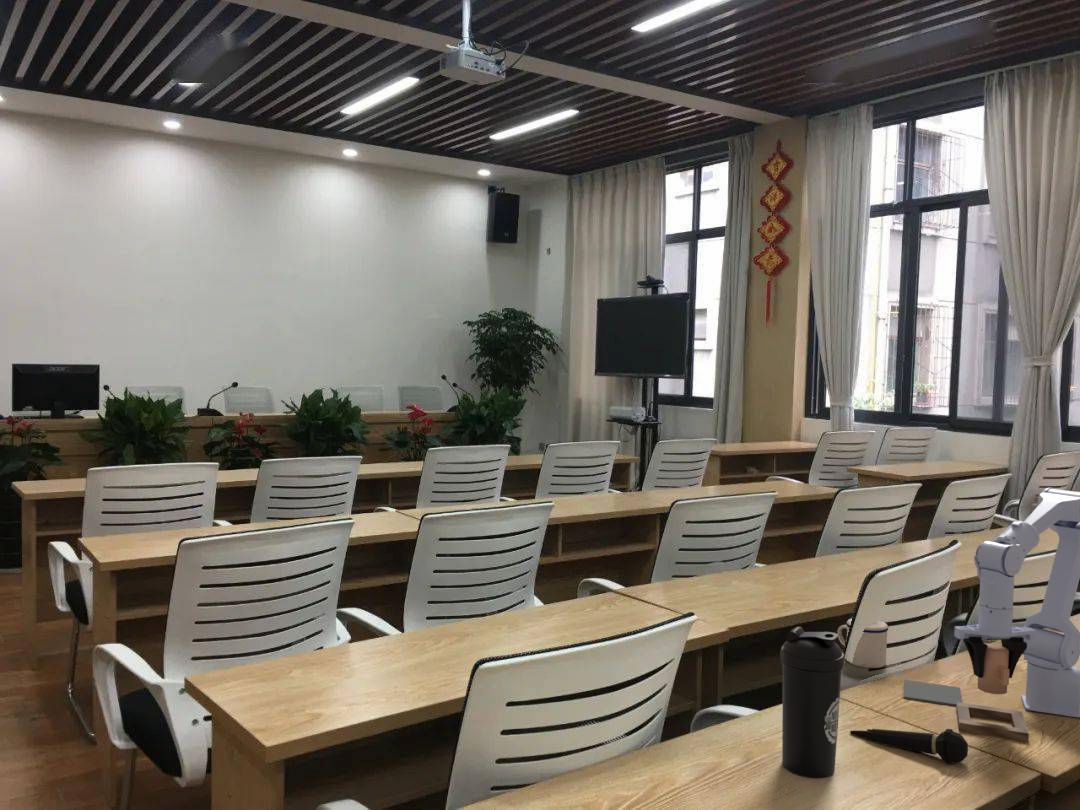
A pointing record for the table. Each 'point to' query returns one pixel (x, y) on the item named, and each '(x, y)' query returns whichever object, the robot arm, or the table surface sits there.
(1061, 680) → the robot arm
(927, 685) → the rubber mat
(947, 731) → the microphone
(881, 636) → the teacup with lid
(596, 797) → the table surface
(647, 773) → the table surface
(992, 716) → the walnut holder
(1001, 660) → the terracotta jug
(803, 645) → the water bottle
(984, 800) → the table surface
